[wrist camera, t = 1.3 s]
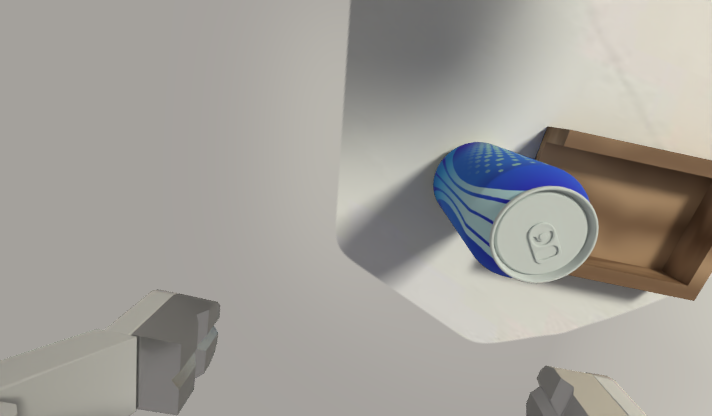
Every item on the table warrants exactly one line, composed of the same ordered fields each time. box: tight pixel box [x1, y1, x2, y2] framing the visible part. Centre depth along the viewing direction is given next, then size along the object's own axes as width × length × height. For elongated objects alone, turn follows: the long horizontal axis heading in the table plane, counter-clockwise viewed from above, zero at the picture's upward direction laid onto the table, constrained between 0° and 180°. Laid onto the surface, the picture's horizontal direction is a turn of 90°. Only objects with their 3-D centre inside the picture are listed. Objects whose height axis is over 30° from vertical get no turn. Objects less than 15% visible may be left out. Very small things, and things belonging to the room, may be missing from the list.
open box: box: [535, 127, 712, 301], centre depth 34 cm, size 14×20×4 cm
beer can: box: [433, 142, 599, 283], centre depth 28 cm, size 8×8×16 cm
